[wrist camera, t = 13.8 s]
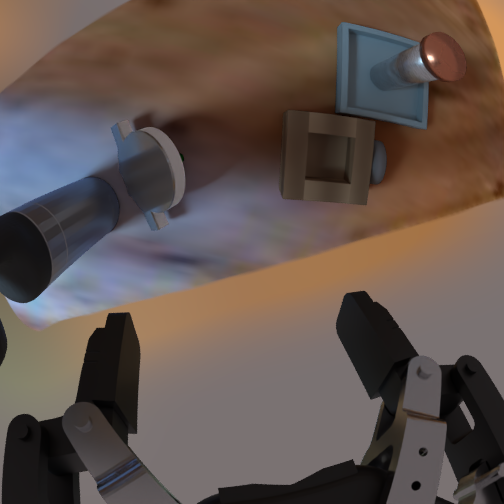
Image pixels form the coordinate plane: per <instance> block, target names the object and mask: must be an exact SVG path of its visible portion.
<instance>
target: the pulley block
mask: <svg viewBox="0 0 504 504" xmlns="http://www.w3.org/2000/svg"><path fill="white" fill-rule="evenodd" d="M375 122H376V121H370V120H365V119H359V118H353V117H346V116H339V115H332V114H324V113H316V112H306V111H296V110H287V111H286V112H284V113H283V129H282V147H281V164H280V180H279V190H280V192H281V195H282V198H283V199H293V200H308V201H322V202H335V203H347V204H358V205H367V198H368V191H369V184H379V183H380V182H381V181H382V179H383V177H384V174H385V170H386V163H387V156H386V150H385V146H384V144H383V143H382V142H381V141H376V140H374V135H375Z"/></svg>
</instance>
